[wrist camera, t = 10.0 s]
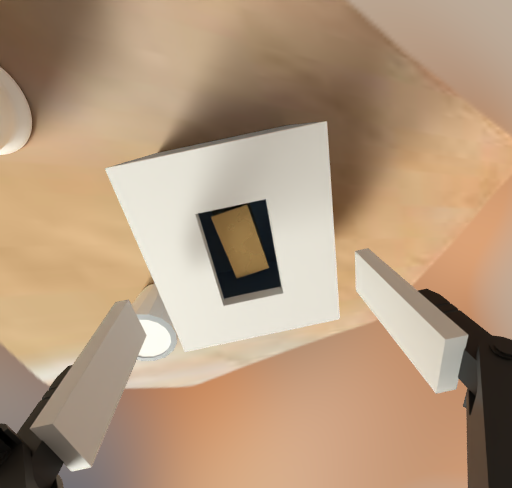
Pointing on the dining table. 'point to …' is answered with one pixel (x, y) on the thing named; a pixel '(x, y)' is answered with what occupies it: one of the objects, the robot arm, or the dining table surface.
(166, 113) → the dining table surface
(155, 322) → the white cylinder
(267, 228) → the box
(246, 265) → the wooden rectangular block
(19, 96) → the jar
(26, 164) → the dining table surface
